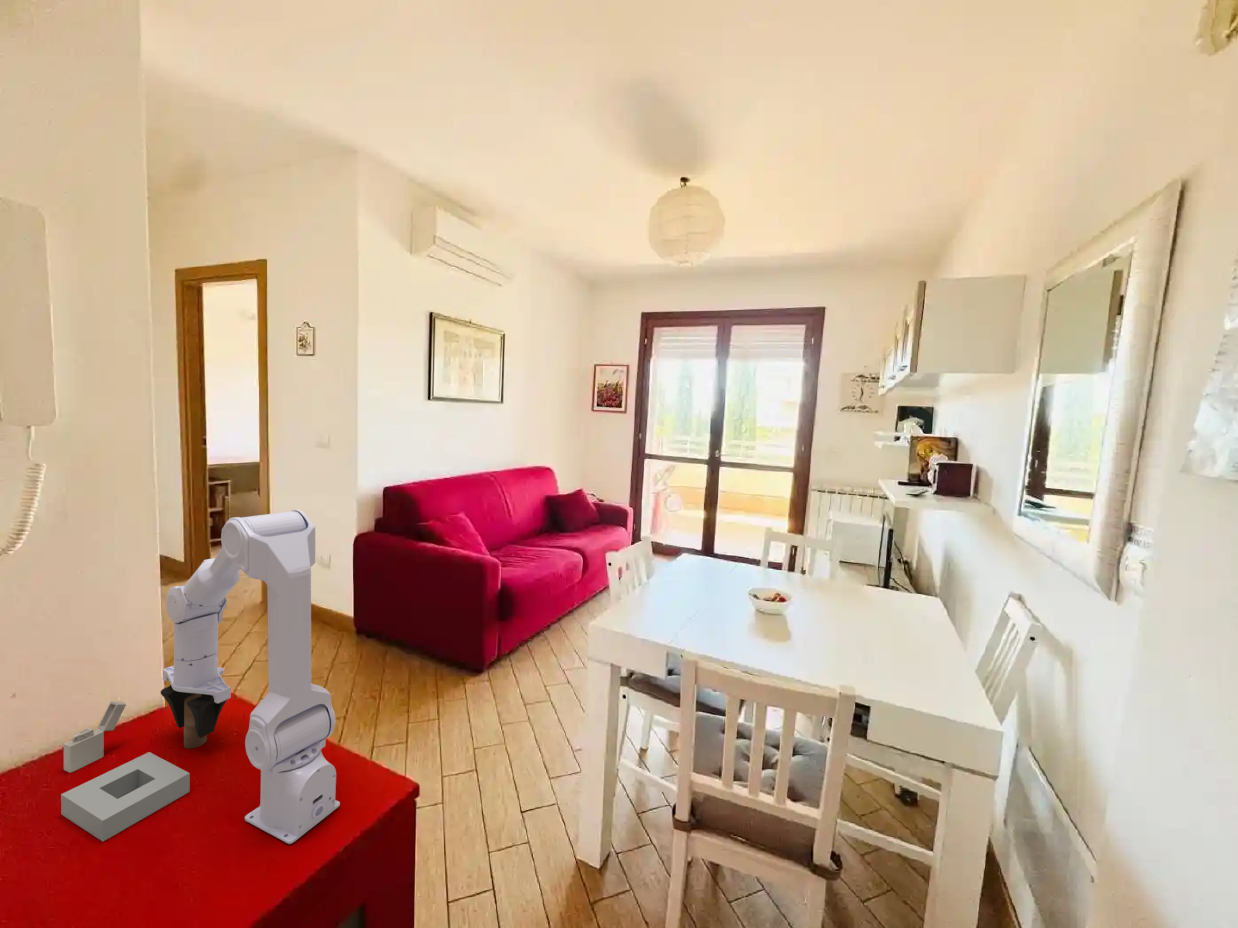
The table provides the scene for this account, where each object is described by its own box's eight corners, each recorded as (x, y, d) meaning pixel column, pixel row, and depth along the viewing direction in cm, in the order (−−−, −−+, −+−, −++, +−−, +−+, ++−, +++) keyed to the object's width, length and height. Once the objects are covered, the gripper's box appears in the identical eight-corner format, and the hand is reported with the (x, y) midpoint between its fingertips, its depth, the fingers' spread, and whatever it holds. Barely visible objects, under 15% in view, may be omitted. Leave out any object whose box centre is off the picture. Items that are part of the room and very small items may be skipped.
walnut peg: (210, 740, 88) (211, 696, 87) (191, 750, 85) (191, 705, 84) (199, 734, 89) (200, 691, 88) (179, 744, 86) (180, 700, 85)
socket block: (189, 791, 77) (189, 773, 76) (102, 841, 67) (102, 820, 67) (149, 769, 80) (149, 751, 80) (61, 814, 71) (61, 794, 70)
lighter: (70, 772, 78) (69, 723, 77) (63, 769, 79) (62, 720, 78) (126, 745, 85) (126, 699, 84) (119, 742, 85) (119, 697, 85)
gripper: (250, 654, 87) (248, 729, 88) (195, 633, 92) (195, 705, 93) (203, 672, 80) (203, 753, 81) (147, 649, 85) (147, 725, 86)
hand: (195, 729), depth 87 cm, fingers open, 5 cm apart
